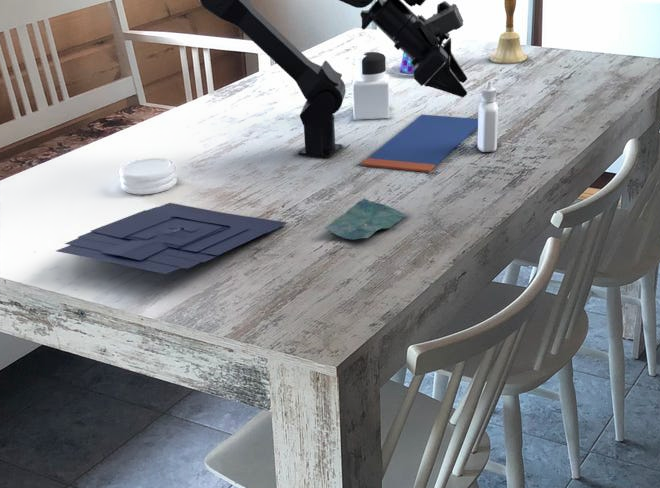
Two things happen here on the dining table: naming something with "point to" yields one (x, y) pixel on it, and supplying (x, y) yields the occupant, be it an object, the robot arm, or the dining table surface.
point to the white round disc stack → (148, 176)
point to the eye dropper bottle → (488, 120)
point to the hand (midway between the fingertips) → (465, 87)
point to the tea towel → (423, 143)
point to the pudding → (404, 66)
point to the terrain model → (364, 220)
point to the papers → (169, 237)
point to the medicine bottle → (370, 87)
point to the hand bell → (509, 40)
